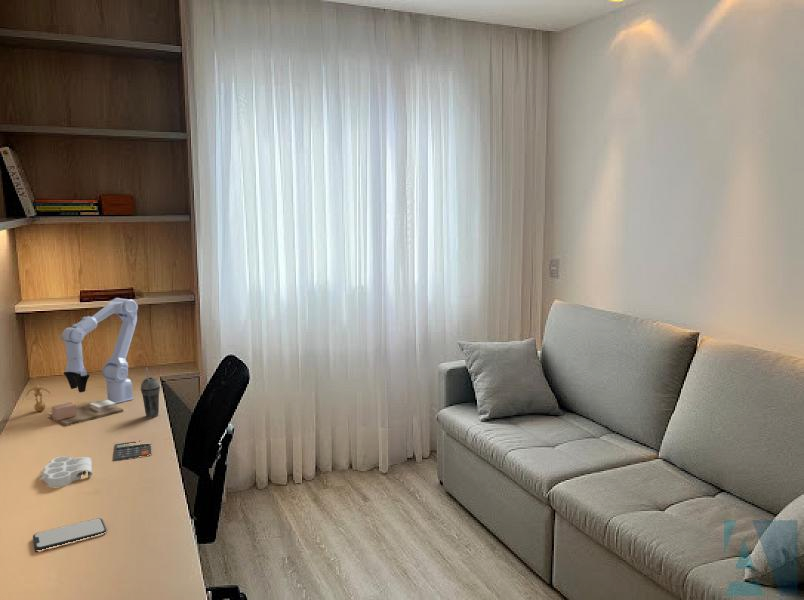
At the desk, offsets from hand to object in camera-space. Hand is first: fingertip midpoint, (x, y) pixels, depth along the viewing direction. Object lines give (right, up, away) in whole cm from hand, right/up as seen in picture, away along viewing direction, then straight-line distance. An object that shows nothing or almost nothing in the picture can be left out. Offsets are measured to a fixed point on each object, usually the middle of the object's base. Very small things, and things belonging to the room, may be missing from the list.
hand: (78, 390), depth 255 cm
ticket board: (+4, -10, -1) cm, 11 cm away
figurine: (-17, -9, +2) cm, 19 cm away
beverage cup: (+31, -10, -3) cm, 33 cm away
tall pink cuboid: (-1, -9, -8) cm, 12 cm away
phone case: (+46, -24, -94) cm, 107 cm away
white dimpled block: (+26, -19, -58) cm, 66 cm away
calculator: (+38, -16, -38) cm, 57 cm away
